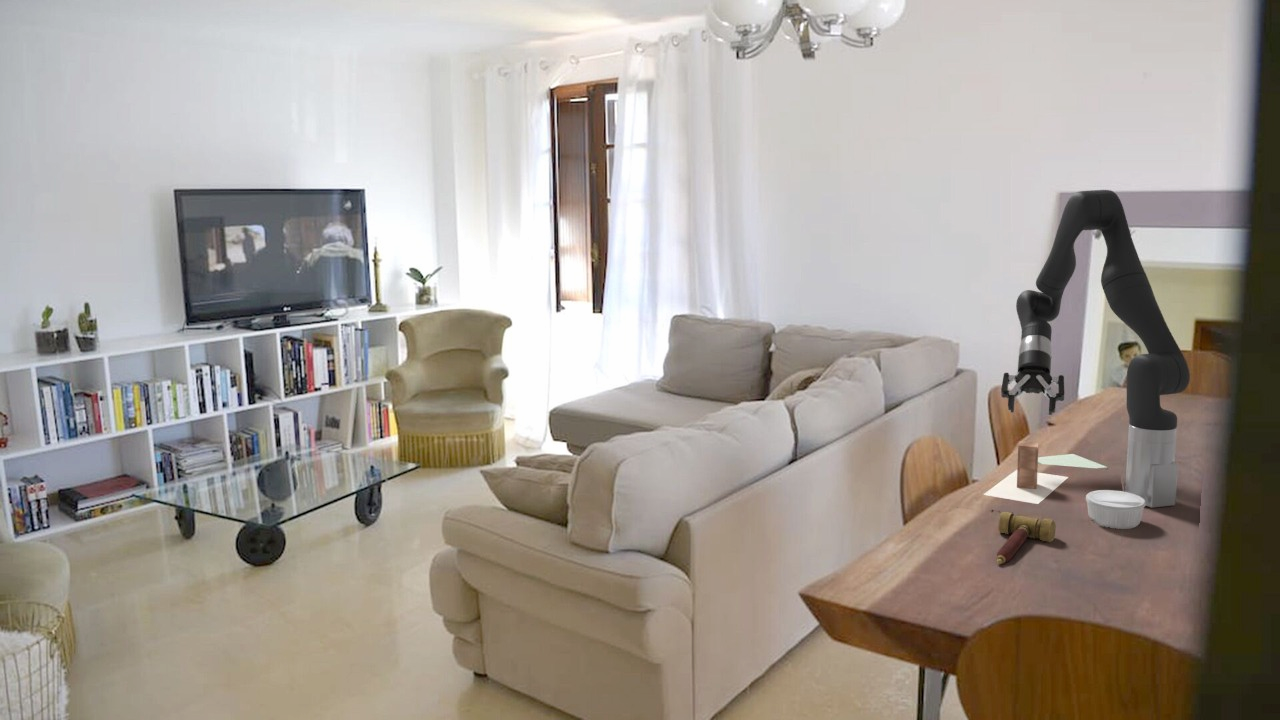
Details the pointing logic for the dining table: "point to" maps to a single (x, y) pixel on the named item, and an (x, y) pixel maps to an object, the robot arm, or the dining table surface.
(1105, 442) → the dining table surface
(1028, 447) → the tan recessed-panel box
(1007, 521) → the gavel
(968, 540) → the dining table surface
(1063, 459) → the mat
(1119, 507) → the ramekin
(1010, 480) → the hook board
